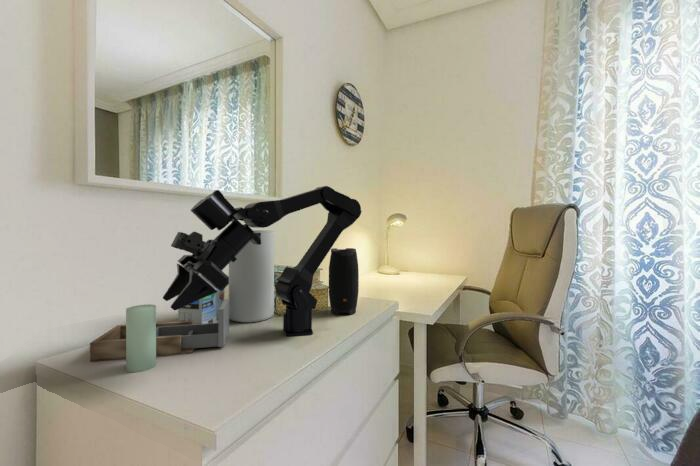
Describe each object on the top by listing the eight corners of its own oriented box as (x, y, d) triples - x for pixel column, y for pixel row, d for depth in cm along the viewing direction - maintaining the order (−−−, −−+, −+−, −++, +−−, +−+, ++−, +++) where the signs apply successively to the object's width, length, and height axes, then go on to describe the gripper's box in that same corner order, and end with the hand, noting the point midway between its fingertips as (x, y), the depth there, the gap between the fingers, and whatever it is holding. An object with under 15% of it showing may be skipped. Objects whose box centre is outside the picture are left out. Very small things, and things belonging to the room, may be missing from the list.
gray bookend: (229, 332, 76) (229, 299, 76) (223, 346, 67) (223, 309, 67) (156, 337, 72) (156, 302, 72) (140, 353, 63) (140, 313, 63)
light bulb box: (201, 333, 76) (201, 289, 76) (176, 332, 77) (176, 288, 77) (225, 320, 87) (225, 282, 87) (203, 319, 88) (203, 281, 88)
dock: (202, 334, 75) (202, 320, 75) (191, 353, 65) (191, 335, 64) (117, 341, 71) (117, 325, 71) (90, 361, 60) (90, 342, 60)
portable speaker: (354, 317, 91) (354, 250, 91) (324, 314, 94) (324, 249, 94) (361, 309, 99) (361, 248, 99) (333, 307, 102) (334, 247, 102)
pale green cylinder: (159, 360, 61) (159, 303, 61) (151, 370, 57) (150, 309, 56) (132, 362, 60) (132, 305, 60) (121, 373, 55) (121, 311, 55)
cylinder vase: (231, 325, 83) (231, 230, 82) (226, 314, 94) (226, 230, 93) (278, 319, 88) (279, 230, 88) (268, 309, 99) (268, 230, 99)
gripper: (188, 219, 71) (129, 271, 64) (211, 217, 57) (137, 284, 50) (224, 252, 76) (172, 304, 69) (253, 258, 62) (191, 325, 55)
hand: (168, 303), depth 61 cm, fingers open, 9 cm apart
